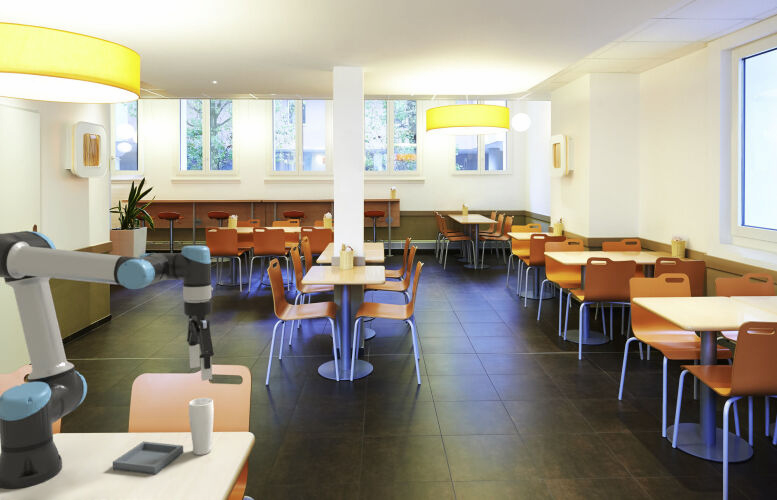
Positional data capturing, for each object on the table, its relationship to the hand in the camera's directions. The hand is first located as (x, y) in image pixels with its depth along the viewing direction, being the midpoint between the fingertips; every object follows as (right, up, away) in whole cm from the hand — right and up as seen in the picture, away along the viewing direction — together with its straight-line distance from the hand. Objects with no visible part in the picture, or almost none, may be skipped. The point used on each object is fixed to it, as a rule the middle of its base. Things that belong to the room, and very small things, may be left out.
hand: (200, 373), depth 158 cm
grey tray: (-13, -24, -4) cm, 27 cm away
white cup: (0, -24, +2) cm, 24 cm away
